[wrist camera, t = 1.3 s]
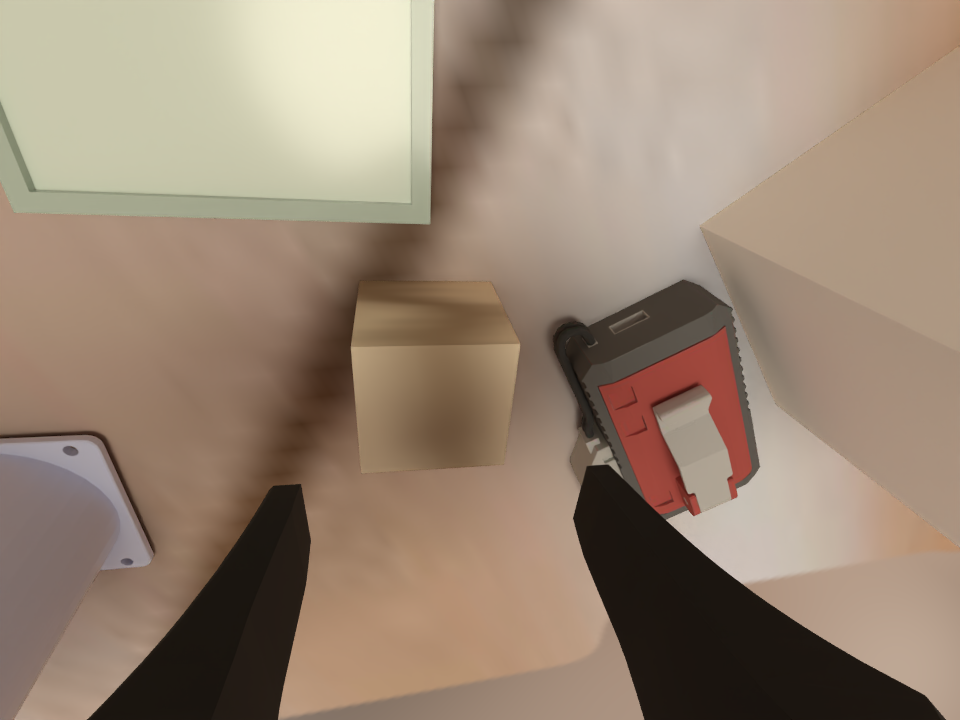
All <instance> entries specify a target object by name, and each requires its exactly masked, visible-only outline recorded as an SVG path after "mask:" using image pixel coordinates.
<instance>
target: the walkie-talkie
mask: <svg viewBox="0 0 960 720" xmlns="http://www.w3.org/2000/svg"><path fill="white" fill-rule="evenodd" d="M732 310H733V309H732V308H731V307H729V306H728V305H727V304H725V303H724V302H722V301H721V300H720V299H718V298H717V297H715V296H714V295H713V294H711V293H710V292H708V291H707V290H705V289H704V288H703V287H701V286H700V285H697V284H694V283H691V282H689V281H686V280H682V281H680V282H678V283H676V284H674V285H672V286H670V287H668V288H665V289H663V290H661V291H659V292H657V293H655V294H653V295H651V296H649V297H647V298H645V299H643V300H641V301H639V302H637V303H635V304H633V305H631V306H629V307H627V308H625V309H623V310H621V311H619V312H617V313H615V314H613V315H611V316H609V317H607V318H605V319H603V320H601V321H599V322H597V323H595V324H593V325H591V326H589V327H586V326H585V325H584V324H583V323H580V322H576V321H575V322H571V323H567V324H563V325H562V326H561V327H559V328H558V329H557V331H556V333H555V335H554V338H553V342H554V351H555V353H556V355H557V357H558V359H559V361H560V364H561V366H562V368H563V370H564V372H565V374H566V377H567V379H568V381H569V383H570V385H571V387H572V389H573V392H574V394H575V396H576V398H577V400H578V403H579V405H580V408H581V410H582V413H583V418H582V426H581V427H579V428H578V430H579V432H580V434H579V437H578V439H577V442H576V444H575V447H574V450H573V452H572V455H571V459H570V463H571V465H572V467H573V469H574V471H575V474H576V476H577V478H578V480H579V482H580V485H581V486H582V482H583V479H584V475H585V471H586V467H587V466H591V465H606V464H609V465H610V466H611V467H612V468H613V469H614V470H615V471H616V472H617V473H618V474H619V475H620V476H621V477H622V478H623V479H624V480H625V481H626V482H627V483H628V484H629V485H630V486H631V487H632V488H633V489H634V490H635V491H636V492H637V493H638V494H639V495H640V496H641V497H642V498H643V499H644V500H645V501H646V502H647V503H648V504H649V505H650V506H651V507H652V508H654V509H655V510H656V511H657V512H658V513H659V514H660V515H661V516H662V517H663V518H664V519H665V520H666V519H668V518H670V517H673V516H675V515H677V514H680V513H682V512H684V511H686V510H689V511H690V513H691V514H692V515H693V516H695V515H697V514H700V513H702V512H704V511H707V510H709V509H711V508H713V507H716V506H718V505H720V504H723V503H725V502H727V501H730V500H732V499H734V498H736V497H737V490H736V489H737V488H739V487H741V486H743V485H746V484H747V483H748V482H749V481H750V480H751V478H752V477H753V476H754V475H755V474H756V472H757V471H758V469H759V467H760V465H759V459H758V453H757V447H756V442H755V436H754V430H753V424H752V418H751V413H750V409H749V408H748V405H749V402H748V401H747V400H746V397H747V393H746V392H745V388H746V385H745V384H744V383H743V380H744V379H745V378H744V376H743V375H742V370H743V367H742V366H741V365H740V362H741V357H739V354H738V353H739V351H740V350H739V348H738V347H737V342H738V338H737V337H735V332H736V328H735V327H734V326H733V322H734V317H733V316H732V314H731V312H732ZM570 337H571V338H570ZM569 338H570V340H569V342H568V344H567V346H566V349H565V344H566V341H567V340H568V339H569ZM594 420H595V421H594Z"/></svg>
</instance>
